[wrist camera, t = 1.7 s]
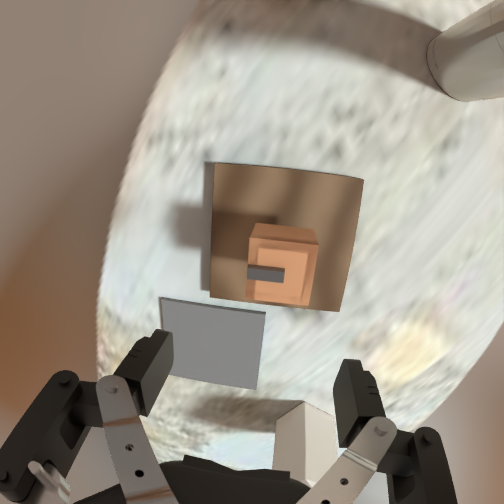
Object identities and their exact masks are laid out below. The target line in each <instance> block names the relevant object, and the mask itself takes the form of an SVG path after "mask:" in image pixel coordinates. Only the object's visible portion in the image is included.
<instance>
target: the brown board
mask: <svg viewBox="0 0 504 504" xmlns="http://www.w3.org/2000/svg"><path fill="white" fill-rule="evenodd" d="M363 184H364V180H363V179H360V178H354V177H348V176H341V175H334V174H327V173H320V172H312V171H304V170H295V169H286V168H276V167H266V166H254V165H242V164H227V163H215V170H214V188H213V208H212V231H211V262H210V297H211V298H219V299H226V300H233V301H241V302H249V303H257V304H266V305H274V306H283V307H292V308H302V309H312V310H323V311H334V312H339V311H340V307H341V302H342V298H343V294H344V289H345V285H346V280H347V276H348V271H349V266H350V261H351V256H352V251H353V246H354V241H355V235H356V229H357V223H358V217H359V211H360V205H361V198H362V191H363ZM256 223H263V224H273V225H282V226H291V227H299V228H308V229H314V232H315V235H316V238H317V241H318V244H319V248H318V254H317V260H316V266H315V272H314V278H313V284H312V290H311V295H310V301H309V306H305V305H295V304H286V303H277V302H268V301H260V300H251V299H245V293H246V280H247V267H248V254H249V242H250V236H251V234H252V231H253V229H254V227H255V224H256Z"/></svg>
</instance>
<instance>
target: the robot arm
mask: <svg viewBox="0 0 504 504" xmlns="http://www.w3.org/2000/svg"><path fill="white" fill-rule="evenodd" d="M427 61H428V65H429V69H430V71H431V73H432V75H433V77H434V79H435V81H436V82H437V84H438V85H439V86H440V87H441V88H442V89H443V91H445V92H446V93H447V94H448V95H449V96H451V97H453V98H454V99H456V100H459V101H463V102H470V101H476V100H487V99H493V98H500V97H504V0H494V1H493V2H491V3H489V4H487V5H486V6H484V7H482V8H481V9H479V10H477V11H476V12H474V13H473V14H471V15H469V16H468V17H466V18H465V19H463V20H461V21H460V22H458V23H457V24H455V25H454V26H452V27H450V28H449V29H447V30H446V31H444V32H443V33H441V34H440V35H438V36H437V37H436V38H434V39H433V40H432V41H431V42H430V44H429V46H428V49H427ZM173 361H174V348H173V333H172V332H169V331H165V330H161V329H156V330H155V331H154V333H153V334H152V336H151V337H150V338H149V337H143V338H141V339H140V340H138V341H137V342H136V343H135V344H134V346H133V347H132V349H131V350H130V351H129V353H128V355H126V357H125V358H124V360H123V361H122V362H121V364H120V365H119V367H118V368H117V370H116V371H115V372H114V374H113V375H108V376H104V377H102V378H101V379H100V380H99V381H98V382H86V381H79V378H78V376H77V375H76V374H75V373H74V372H72V371H68V370H63V371H59V372H57V373H55V374H54V375H53V376H52V377H51V379H50V380H49V381H48V383H47V384H46V385H45V386H44V388H43V389H42V390H41V392H40V393H39V395H38V396H37V397H36V398H35V400H34V401H33V403H32V404H31V405H30V407H29V408H28V409H27V411H26V412H25V413H24V415H23V416H22V418H21V419H20V421H19V422H18V423H17V425H16V426H15V428H14V429H13V431H12V432H11V434H10V435H9V437H8V438H7V440H6V441H5V443H4V444H3V446H2V447H1V449H0V493H1V494H2V495H3V496H4V497H5V498H6V499H7V500H8V501H9V502H11V503H12V504H69V495H70V487H69V484H68V482H67V481H66V480H65V478H66V476H67V474H68V472H69V470H70V468H71V466H72V464H73V462H74V460H75V458H76V456H77V454H78V452H79V450H80V448H81V446H82V444H83V442H84V440H85V438H86V437H87V435H88V433H89V431H90V429H91V427H92V426H93V427H102V428H103V429H104V433H105V437H106V440H107V444H108V447H109V451H110V454H111V458H112V461H113V464H114V467H115V470H116V473H117V476H118V479H119V482H120V483H119V484H117V485H115V486H113V487H110V488H108V489H106V490H104V491H102V492H99V493H97V494H94V495H92V496H89V497H87V498H84V499H82V500H79V501H77V502H75V503H73V504H352V503H353V502H354V500H355V499H356V498H357V497H358V495H359V494H360V492H361V491H362V490H363V488H364V487H365V486H366V484H367V483H368V481H369V480H370V479H371V477H372V476H373V474H374V473H375V471H377V472H382V473H386V475H387V484H388V494H389V504H458V503H457V499H456V494H455V489H454V485H453V481H452V477H451V473H450V469H449V465H448V461H447V458H446V454H445V451H444V447H443V444H442V440H441V437H440V435H439V433H438V432H437V431H436V430H434V429H432V428H430V427H421V428H419V429H417V430H416V431H415V433H410V432H406V431H401V430H398V429H397V427H396V425H395V424H394V423H393V421H391V420H390V419H388V418H386V415H385V411H384V408H383V404H382V401H381V397H380V395H379V390H378V388H377V384H376V380H375V378H374V377H373V376H372V374H371V373H370V372H369V371H363V368H362V364H361V361H360V360H354V359H344V360H343V362H342V364H341V367H340V370H339V372H338V375H337V377H336V380H335V382H334V387H333V397H334V405H335V413H336V422H337V431H338V440H339V448H347V450H345V451H344V452H343V454H342V455H341V456H340V457H339V458H338V459H337V461H336V462H335V463H334V464H333V465H332V466H331V468H330V469H329V470H328V471H327V472H326V473H325V474H324V475H323V476H322V478H321V479H320V480H319V481H318V482H317V483H316V484H315V485H314V486H313V487H312V488H310V487H309V486H307V485H306V484H304V483H302V482H300V481H298V480H295V479H293V478H290V471H281V470H270V469H257V470H243V471H236V470H233V469H230V468H228V467H225V466H223V465H220V464H218V463H215V462H213V461H211V460H206V459H202V458H197V457H193V456H189V455H184V458H183V461H169V462H164V463H160V464H158V461H157V459H156V457H155V455H154V452H153V450H152V448H151V445H150V443H149V440H148V438H147V435H146V433H145V430H144V428H143V425H142V422H141V420H140V418H139V415H142V416H146V417H148V415H149V413H150V411H151V409H152V407H153V405H154V403H155V401H156V399H157V397H158V395H159V393H160V391H161V389H162V387H163V385H164V383H165V381H166V379H167V377H168V375H169V373H170V371H171V368H172V366H173Z"/></svg>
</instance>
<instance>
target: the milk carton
mask: <svg viewBox="0 0 504 504" xmlns="http://www.w3.org/2000/svg"><path fill="white" fill-rule="evenodd" d="M337 459H338V453H337V441H336V431H335V421H334V417H333V416H331V415H329V414H327V413H325V412H323V411H322V410H320V409H318V408H316V407H314V406H312V405H310V404H308V403H306V402H303V403H301V404H300V405H299V406H297V407H296V408H294V409H293V410H291V411H290V412H288V413H287V414H285V415H284V416H282V417H281V418H279V419H278V420H277V421H276V432H275V444H274V455H273V466H272V470H281V471H290V478H293V479H295V480H298V481H300V482H302V483H304V484H306V485H307V486H309V487H310V488H312V487H313V486H314V485H315V484H316V483H317V482H318V481H319V480H320V479H321V478H322V476H323V475H324V474H325V473H326V472H327V471H328V470H329V469H330V468H331V466H332V465H333V464H334V463H335V462H336V461H337Z"/></svg>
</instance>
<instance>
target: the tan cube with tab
mask: <svg viewBox="0 0 504 504" xmlns="http://www.w3.org/2000/svg"><path fill="white" fill-rule="evenodd" d="M318 248H319V244H318V241H317V238H316V235H315V232H314V229H308V228H299V227H291V226H282V225H273V224H263V223H256V224H255V227H254V229H253V231H252V234H251V236H250V242H249V254H248V267H247V280H246V293H245V299H251V300H260V301H268V302H277V303H286V304H295V305H305V306H309V301H310V295H311V290H312V284H313V278H314V272H315V266H316V260H317V254H318Z"/></svg>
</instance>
